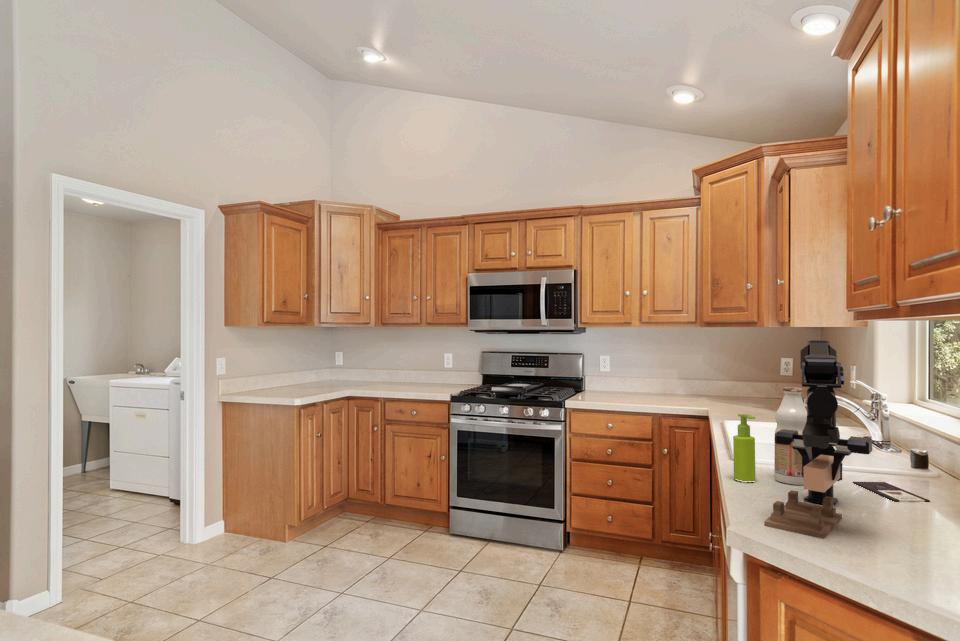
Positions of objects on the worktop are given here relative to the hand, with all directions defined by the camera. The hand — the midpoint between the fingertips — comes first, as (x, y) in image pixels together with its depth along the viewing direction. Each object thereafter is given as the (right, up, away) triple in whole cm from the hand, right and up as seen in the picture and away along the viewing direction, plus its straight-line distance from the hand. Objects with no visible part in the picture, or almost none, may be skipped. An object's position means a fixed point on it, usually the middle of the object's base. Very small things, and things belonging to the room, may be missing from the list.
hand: (822, 478), depth 128 cm
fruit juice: (+14, -12, +37) cm, 41 cm away
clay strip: (0, -1, 0) cm, 1 cm away
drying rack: (-3, -11, +2) cm, 12 cm away
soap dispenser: (0, -12, +38) cm, 40 cm away
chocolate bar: (+35, -12, +26) cm, 45 cm away
